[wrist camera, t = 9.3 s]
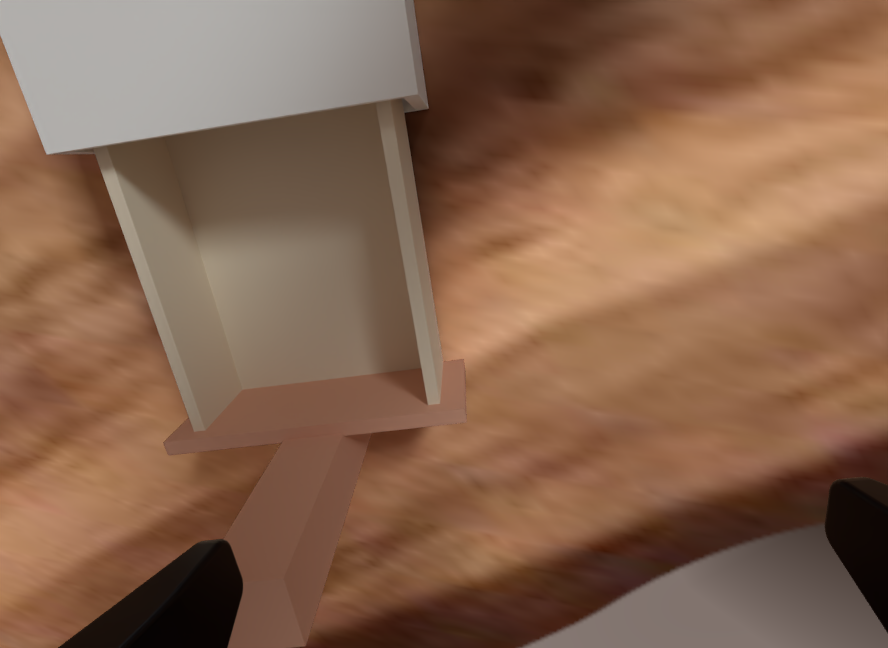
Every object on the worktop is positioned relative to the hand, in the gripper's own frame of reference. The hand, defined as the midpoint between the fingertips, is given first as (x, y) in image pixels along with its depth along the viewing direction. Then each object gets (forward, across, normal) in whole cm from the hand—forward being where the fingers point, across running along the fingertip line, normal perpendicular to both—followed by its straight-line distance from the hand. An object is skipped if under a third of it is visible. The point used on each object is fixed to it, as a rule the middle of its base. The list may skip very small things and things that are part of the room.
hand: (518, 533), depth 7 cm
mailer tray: (+12, +6, -3) cm, 13 cm away
